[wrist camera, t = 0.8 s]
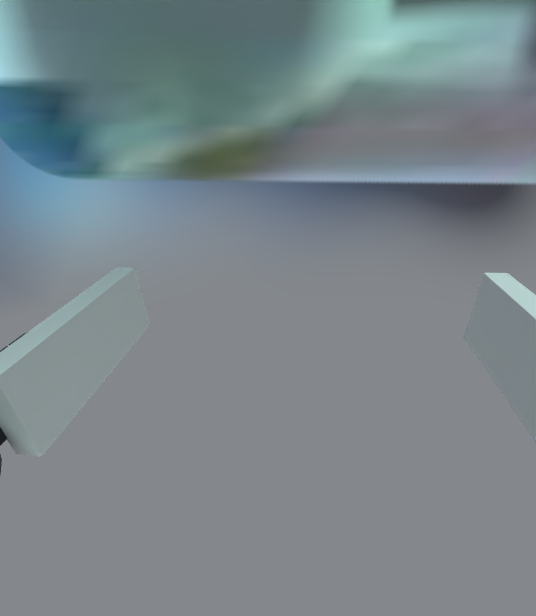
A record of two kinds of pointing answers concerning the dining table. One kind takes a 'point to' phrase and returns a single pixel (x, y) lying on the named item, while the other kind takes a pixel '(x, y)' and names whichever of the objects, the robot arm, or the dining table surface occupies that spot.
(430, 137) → the dining table surface
